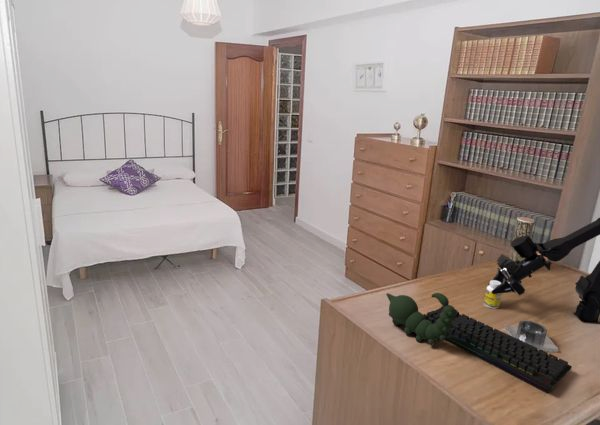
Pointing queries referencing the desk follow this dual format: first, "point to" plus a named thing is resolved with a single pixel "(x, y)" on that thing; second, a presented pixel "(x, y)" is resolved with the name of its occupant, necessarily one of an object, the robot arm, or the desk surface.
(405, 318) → the toy figurine
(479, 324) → the keyboard
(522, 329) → the cup bracket
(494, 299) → the supplement bottle
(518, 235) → the bark textured cylinder
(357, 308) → the desk surface
